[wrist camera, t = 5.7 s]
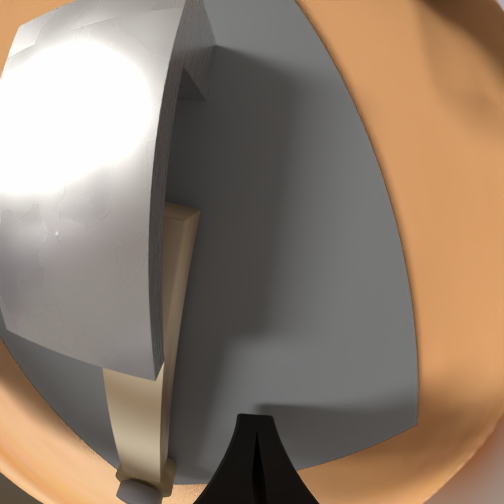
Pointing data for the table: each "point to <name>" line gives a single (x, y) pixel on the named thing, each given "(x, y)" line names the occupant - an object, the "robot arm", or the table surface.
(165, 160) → the block
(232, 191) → the base plate
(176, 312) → the link
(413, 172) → the table surface
